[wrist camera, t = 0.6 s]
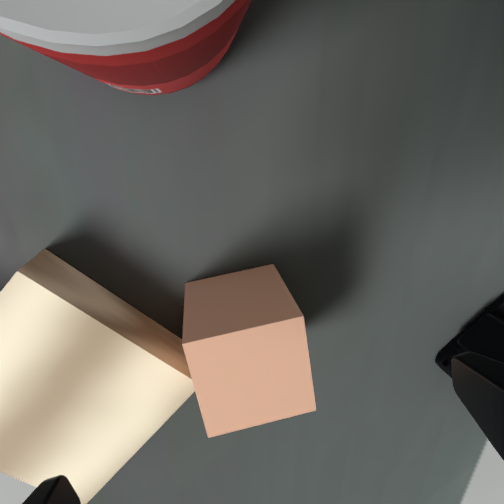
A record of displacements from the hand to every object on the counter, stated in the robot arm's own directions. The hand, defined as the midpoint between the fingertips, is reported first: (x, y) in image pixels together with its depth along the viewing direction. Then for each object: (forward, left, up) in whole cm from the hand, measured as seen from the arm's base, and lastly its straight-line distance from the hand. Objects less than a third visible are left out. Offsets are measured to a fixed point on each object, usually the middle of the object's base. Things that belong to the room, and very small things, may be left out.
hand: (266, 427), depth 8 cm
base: (+2, +11, -12) cm, 16 cm away
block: (-3, +2, -12) cm, 13 cm away
